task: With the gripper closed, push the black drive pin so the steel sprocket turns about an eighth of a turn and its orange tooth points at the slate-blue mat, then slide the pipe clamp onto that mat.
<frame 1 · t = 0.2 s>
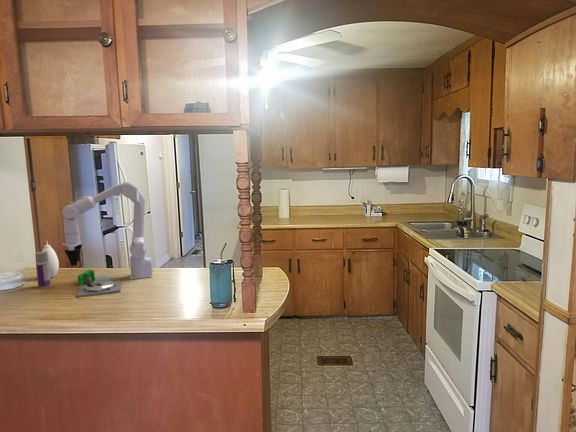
hand: (75, 263, 178), 10 cm above the countertop, tool pointing down, fingers open, 7 cm apart
container: (44, 286, 178), on the countertop
pipe clamp: (88, 282, 183), on the countertop, touching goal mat
mount plate: (100, 289, 171), on the countertop
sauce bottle: (50, 277, 192), on the countertop
sprocket: (99, 282, 171), point 3 cm above the countertop, hinge at 0.0°
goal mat: (102, 280, 185), on the countertop
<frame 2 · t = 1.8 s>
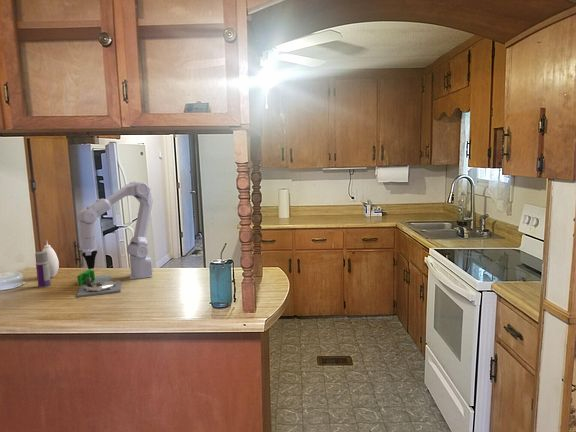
hand: (91, 268, 175), 8 cm above the countertop, tool pointing down, fingers closed
nothing on the countertop moved.
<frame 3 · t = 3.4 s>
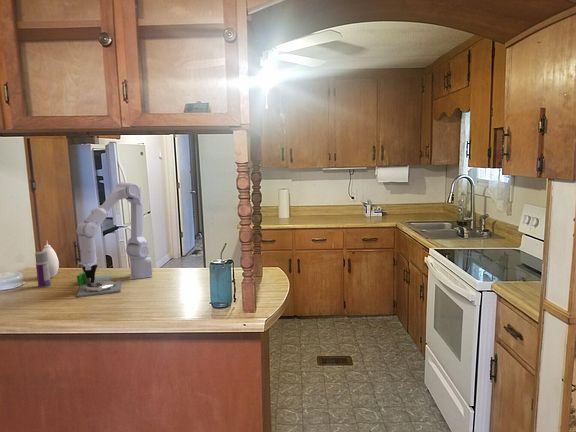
hand: (91, 282, 171), 3 cm above the countertop, tool pointing down, fingers closed, pressing on sprocket
sprocket: (99, 282, 171), point 3 cm above the countertop, hinge at 2.3°, touching gripper
everything else where it was.
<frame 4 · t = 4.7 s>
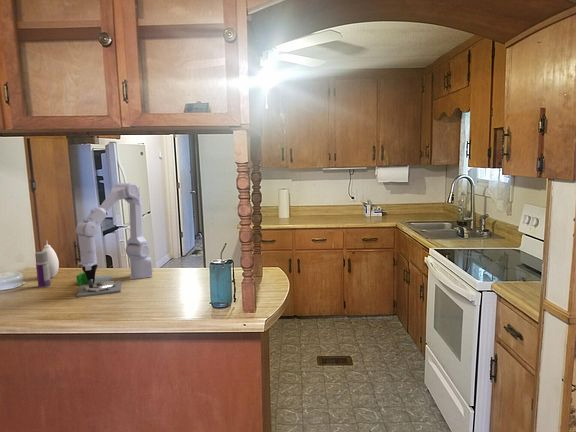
hand: (91, 282, 169), 4 cm above the countertop, tool pointing down, fingers closed, pressing on sprocket
pipe clamp: (87, 282, 183), on the countertop
sprocket: (99, 282, 171), point 3 cm above the countertop, hinge at 39.1°, touching gripper
everything else where it was.
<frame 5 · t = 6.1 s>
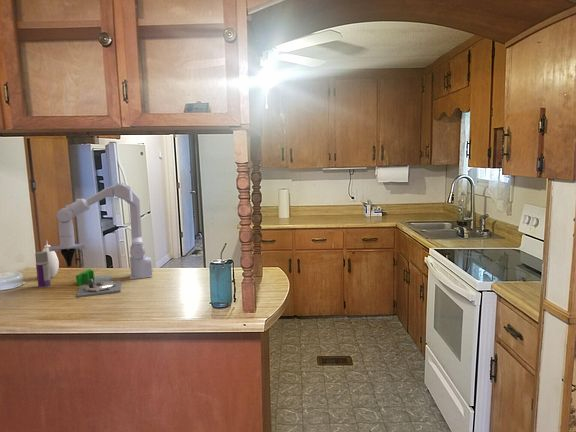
hand: (69, 265, 179), 8 cm above the countertop, tool pointing down, fingers closed
pipe clamp: (87, 282, 183), on the countertop, touching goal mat
sprocket: (99, 282, 171), point 3 cm above the countertop, hinge at 40.4°
everything else where it was.
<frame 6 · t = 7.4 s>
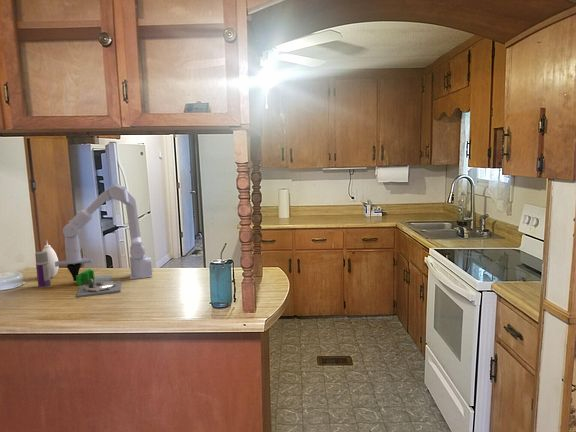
hand: (75, 280, 181), 1 cm above the countertop, tool pointing down, fingers closed
pipe clamp: (87, 282, 183), on the countertop, touching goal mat, gripper
everything else where it was.
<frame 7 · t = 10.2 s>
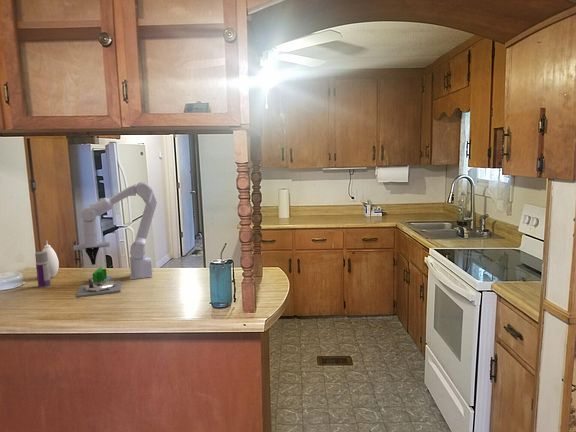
hand: (93, 264, 183), 8 cm above the countertop, tool pointing down, fingers closed
pipe clamp: (100, 280, 185), resting on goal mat
everything else where it was.
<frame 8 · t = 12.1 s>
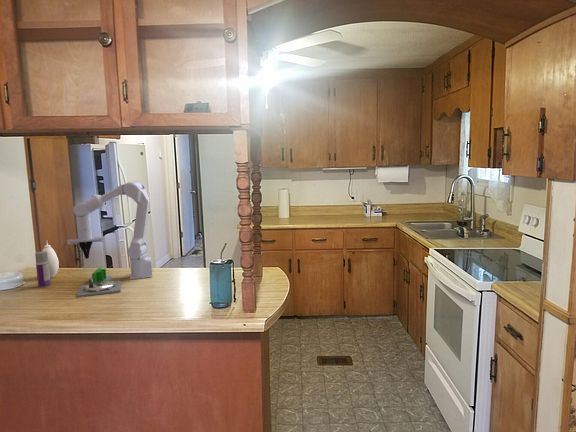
hand: (87, 258, 188), 9 cm above the countertop, tool pointing down, fingers closed
nothing on the countertop moved.
at the end: sprocket at +40° (first picture: +0°); pipe clamp 1.2 cm from the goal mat (horizontally); the gripper is holding nothing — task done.
